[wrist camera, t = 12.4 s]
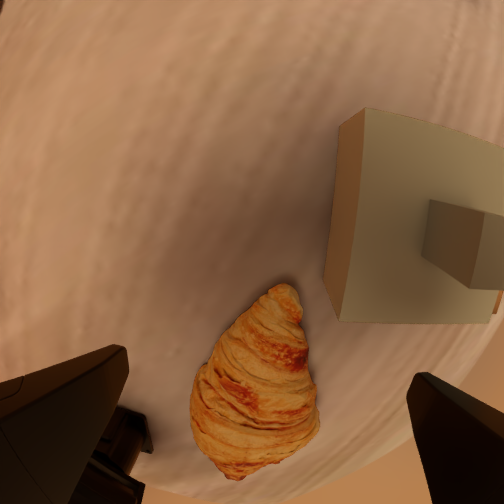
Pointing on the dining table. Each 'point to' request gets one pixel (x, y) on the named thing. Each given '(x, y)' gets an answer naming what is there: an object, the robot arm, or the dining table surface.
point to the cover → (415, 223)
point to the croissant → (256, 389)
